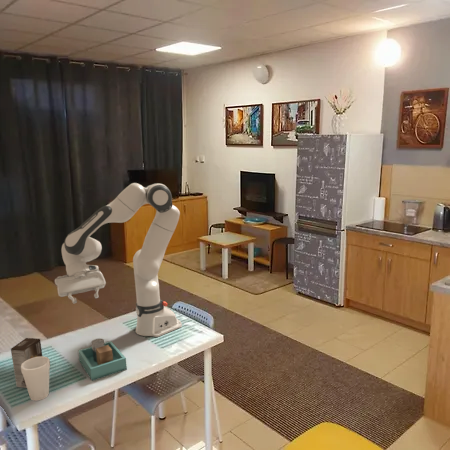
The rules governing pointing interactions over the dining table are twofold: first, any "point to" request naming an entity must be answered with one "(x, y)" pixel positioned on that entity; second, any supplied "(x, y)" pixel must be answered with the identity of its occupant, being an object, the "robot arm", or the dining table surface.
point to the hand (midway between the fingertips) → (86, 300)
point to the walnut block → (104, 355)
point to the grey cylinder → (96, 346)
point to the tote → (103, 369)
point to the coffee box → (24, 357)
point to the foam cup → (36, 377)
